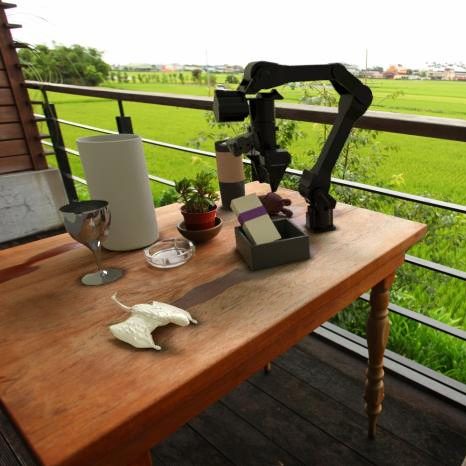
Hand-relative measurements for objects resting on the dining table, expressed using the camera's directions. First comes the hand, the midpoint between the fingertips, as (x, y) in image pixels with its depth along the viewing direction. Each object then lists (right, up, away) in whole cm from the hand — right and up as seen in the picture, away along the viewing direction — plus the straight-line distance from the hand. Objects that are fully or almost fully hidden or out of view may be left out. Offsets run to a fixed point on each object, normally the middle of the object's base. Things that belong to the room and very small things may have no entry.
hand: (267, 187), depth 94 cm
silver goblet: (-30, -20, -15) cm, 39 cm away
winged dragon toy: (-13, -27, -31) cm, 42 cm away
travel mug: (-16, -3, +27) cm, 32 cm away
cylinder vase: (-33, -13, +1) cm, 36 cm away
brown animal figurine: (-3, -6, +21) cm, 22 cm away
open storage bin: (+2, -16, -4) cm, 16 cm away
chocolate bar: (+1, -14, -5) cm, 15 cm away
